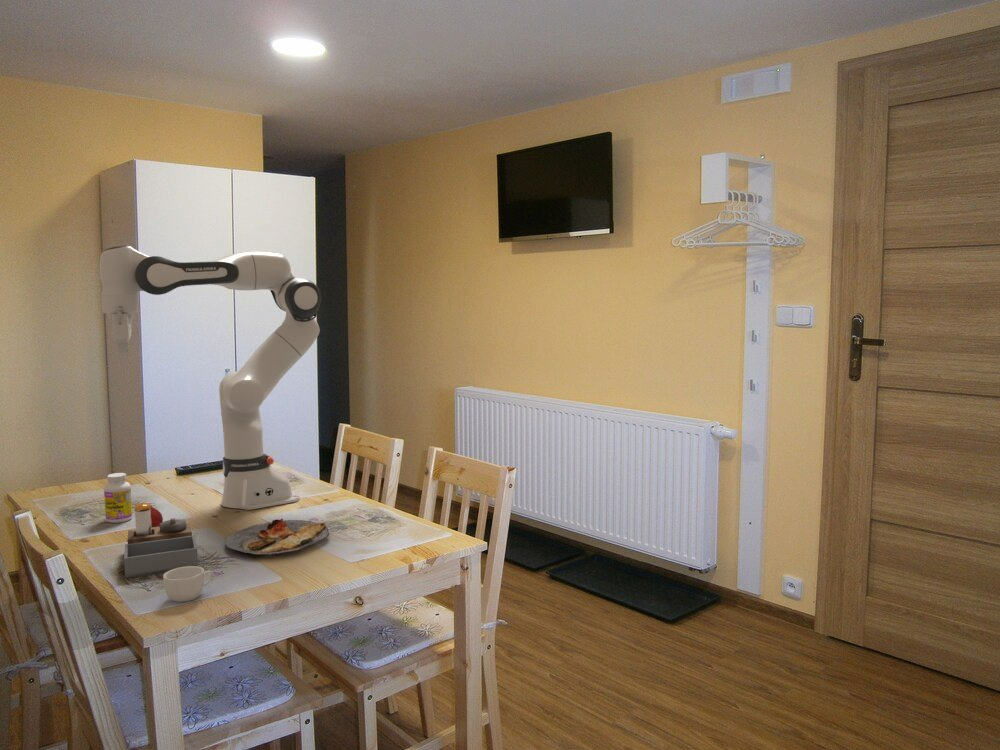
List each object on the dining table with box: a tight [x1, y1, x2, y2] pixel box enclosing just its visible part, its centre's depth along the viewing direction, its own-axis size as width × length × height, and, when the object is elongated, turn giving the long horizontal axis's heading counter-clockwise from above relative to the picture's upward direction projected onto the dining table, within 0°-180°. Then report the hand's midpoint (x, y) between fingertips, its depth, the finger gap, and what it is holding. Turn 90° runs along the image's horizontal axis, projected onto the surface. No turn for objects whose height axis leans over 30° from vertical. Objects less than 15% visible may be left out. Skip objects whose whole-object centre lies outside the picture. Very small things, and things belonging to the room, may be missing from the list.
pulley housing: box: [127, 518, 193, 544], centre depth 184 cm, size 14×8×8 cm, turn 115°
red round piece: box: [150, 504, 164, 528], centre depth 196 cm, size 6×6×8 cm
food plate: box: [224, 518, 330, 556], centre depth 190 cm, size 25×23×4 cm
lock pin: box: [134, 502, 152, 537], centre depth 182 cm, size 3×3×12 cm
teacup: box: [162, 565, 215, 603], centre depth 156 cm, size 10×8×5 cm
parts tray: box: [123, 535, 199, 579], centre depth 174 cm, size 15×10×4 cm
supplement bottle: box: [103, 472, 133, 524], centre depth 209 cm, size 7×7×13 cm
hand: (123, 357), depth 205 cm, fingers open, 8 cm apart
